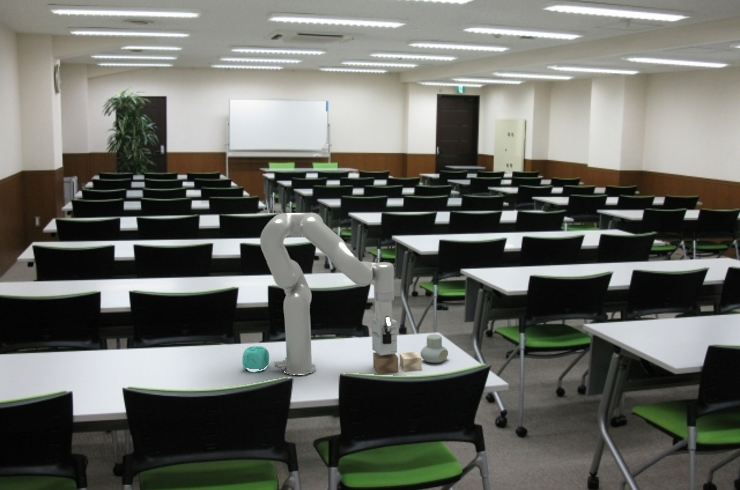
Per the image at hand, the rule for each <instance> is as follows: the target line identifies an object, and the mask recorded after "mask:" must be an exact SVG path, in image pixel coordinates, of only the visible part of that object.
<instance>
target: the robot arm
mask: <svg viewBox="0 0 740 490" xmlns="http://www.w3.org/2000/svg"><path fill="white" fill-rule="evenodd" d="M301 235H302V236H303V237H304V238H305V239H306V240H307V241H309V243H311V244H312V245H313V246H314V247H315V248H317V249H318V250H319V251H320V252H321V253H323V254H324V255H325V257H327V258H328V259H329V260H330V262H331V263H332V264H334V265H335V267H336V268H337V269H339V271H340V272H341V273H342V274H343V275H345V276H346V278H348V279H350V281H351V282H352V283H354V284H355V285H357V286H358V287H366V286H369V285H371V283H372V282H373V300H374V301H375V303H374V305H375V306H374V318H376V320H377V321H378V322H379V323H380V326H379V327H383V332H384V334H383V344H391V326H392V319H393V303H392V302H393V301H394V300H395V268H394V265H393V263H391V262H389V261H387V262H385V261H383V262H382V261H381V262H373V261H371V262H370V261H360V260H359V259H358V258H357V257H356V256H355V255H354V254H353V253H352V252H351V250H350V248H348V246H347V244H346V242H345V241H344V239H342V237H340V236H339V235H338V234H337V233H335V232H334V231H333V230H332V229H331V228H330V227H329V226H327V224H325V223H324V220H323V218H322V217H321V215H319V214H317V213H316V212H283V213H278V214H276V215H275V216H273V218H271V219H270V220H269V221H268V222H267V224H266V225H265V226H264V228H263V229H262V231H261V234H260V237H259V238H260V240H259V243H260V248H261V251H262V253H263V256H264V259H265V260H266V264H267V266H268V269H269V271H270V273H271V274H272V278H273V280H274V283H275V284H276V286H277V287H279V288H280V289H283V291H284V294H285V297H284V300H283V314H284V316H283V317H284V331H285V349H286V350H285V353H286V355H285V358H284V359H282V360H281V361H277V360H276V361H274V367H278V369H282V371H283V370H284V371H285V372H286V373H288V374H291V375H293V374H295V375H298V374H308V373H311V374H313V373H314V371H315V372H316V369H317V367H316V365H315V364H313V361H312V360H313V359H312V333H311V314H310V308H311V306H310V305H311V302H312V291H311V288H310V286H309V283H308V282H307V279H306V277H305V275H304V272H303V270H302V268H301V266H300V265H299V263H298V262H297V261H295V260H293V259H291V257H290V255H289V253H288V250H287V247H285V243H284V240H285V239H286V238H287V237H288V236H301ZM385 322H386V324H387V325H386V326H384V323H385ZM385 328H386V329H385ZM312 372H313V373H312ZM291 375H290V376H291ZM308 375H309V374H308Z"/></svg>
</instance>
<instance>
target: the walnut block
mask: <svg viewBox="0 0 740 490" xmlns="http://www.w3.org/2000/svg"><path fill="white" fill-rule="evenodd" d="M372 360H373V361H372V366H373V369H374V371H375V372H376V373H378V374H377V375H385V374H393V373H394V374H395V373H399V357H398V355H397V353H393V354H387V355H379V354H378V353H377V352H375V351H374V352H372ZM380 373H381V374H380Z"/></svg>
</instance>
